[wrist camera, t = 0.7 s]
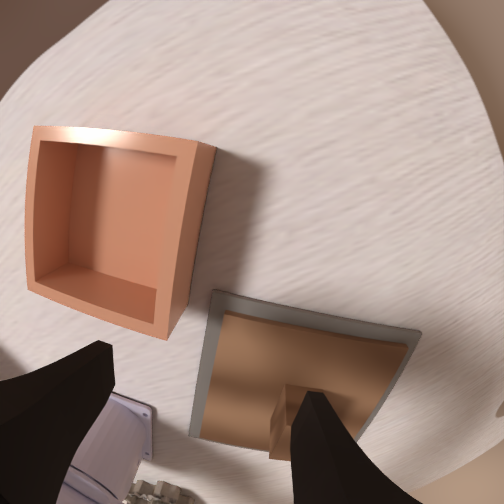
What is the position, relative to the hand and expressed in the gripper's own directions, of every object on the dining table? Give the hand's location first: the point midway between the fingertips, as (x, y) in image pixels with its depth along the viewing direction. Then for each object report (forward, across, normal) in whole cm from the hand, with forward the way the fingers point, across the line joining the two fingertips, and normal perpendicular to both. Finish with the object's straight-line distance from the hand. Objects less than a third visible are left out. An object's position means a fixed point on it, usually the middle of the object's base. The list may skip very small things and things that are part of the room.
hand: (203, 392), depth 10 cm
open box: (+9, +8, -3) cm, 13 cm away
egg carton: (+10, +5, +33) cm, 34 cm away
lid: (+9, -6, +8) cm, 13 cm away
